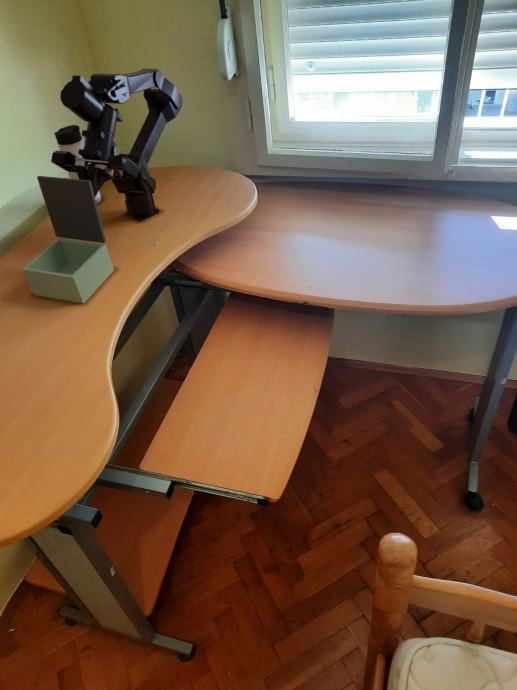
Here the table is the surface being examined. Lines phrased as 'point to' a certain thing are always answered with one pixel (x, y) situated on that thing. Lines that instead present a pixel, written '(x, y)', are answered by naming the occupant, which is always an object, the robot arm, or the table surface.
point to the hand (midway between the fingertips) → (88, 202)
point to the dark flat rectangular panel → (72, 208)
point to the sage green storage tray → (69, 270)
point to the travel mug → (72, 146)
